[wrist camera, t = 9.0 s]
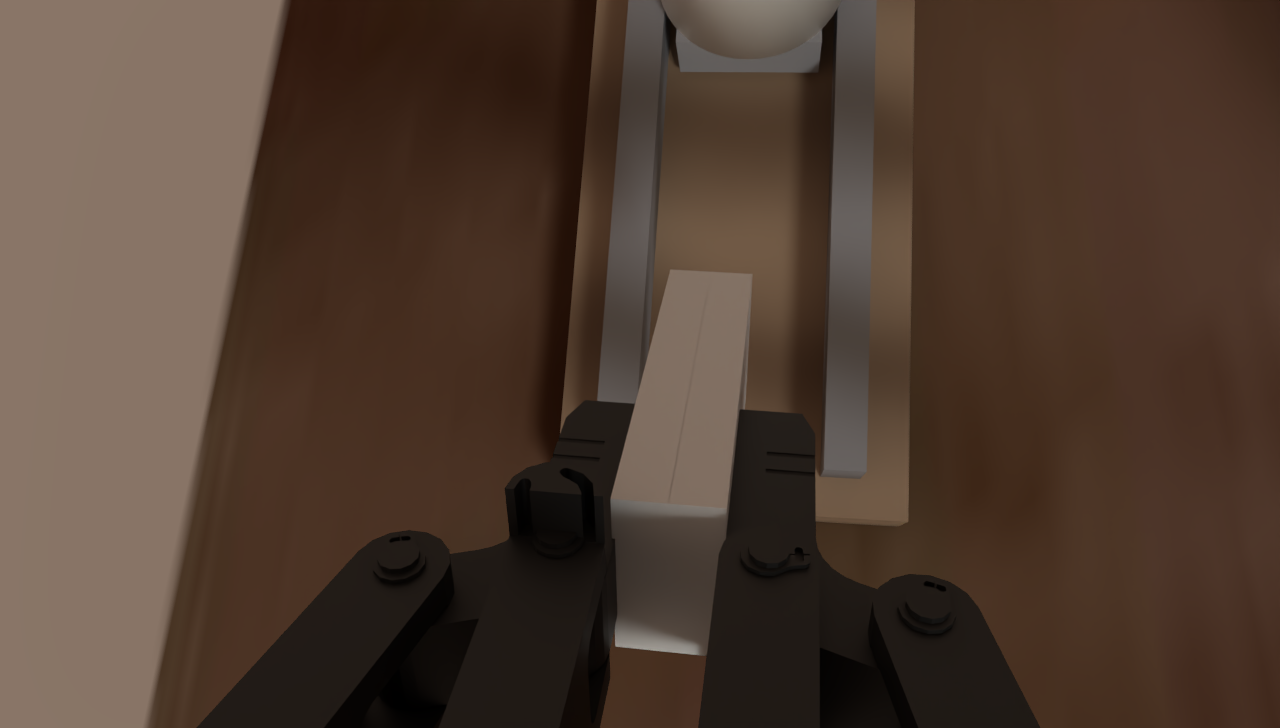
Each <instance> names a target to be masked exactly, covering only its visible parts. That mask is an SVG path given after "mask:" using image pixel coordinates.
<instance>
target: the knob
mask: <svg viewBox="0 0 1280 728" xmlns="http://www.w3.org/2000/svg"><path fill="white" fill-rule="evenodd" d="M661 2H662V5H663V8H664V10H665V12H666V14H667V16H668V18H669V19H670V21H671V22H672V24H673V25H674V26H675V27H676V28H677V32H676V46H677V53H678V59H679V66H680V72H796V73H818V71H819V62H820V53H821V44H822V28H823V27H824V26H825V25H826V24H827V23H828V22H829V20H830V19H831V18H832V16H833V15H834V13H835V12H836V10H837V8H838V6H839V4H840V2H841V0H661Z"/></svg>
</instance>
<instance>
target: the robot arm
mask: <svg viewBox="0 0 1280 728" xmlns="http://www.w3.org/2000/svg"><path fill="white" fill-rule="evenodd" d="M751 292H752V274H744V273H726V272H708V271H690V270H672V269H670V273H669V277H668V281H667V284H666V288H665V292H664V296H663V300H662V304H661V307H660V311H659V315H658V319H657V323H656V327H655V330H654V334H653V338H652V342H651V346H650V349H649V353H648V357H647V361H646V365H645V369H644V372H643V376H642V380H641V384H640V388H639V392H638V395H637V399H636V403H635V404H632V403H619V402H605V401H591V400H585V401H583V402H582V403H581V404H580V405H579V406H578V407H577V408H576V409H575V410H574V411H572V412H571V413H570V414H569V415H568V416H567V417H566V419H565V422H564V425H563V427H562V430H561V433H560V436H559V442H557V444H556V447H555V450H554V453H553V458H551V461H550V462H547V463H542V464H539V465H535V466H532V467H528V468H526V469H525V470H523V471H522V472H520V473H518V474H517V475H515V476H514V477H513V478H512V479H511V481H510V482H509V483H508V485H507V486H506V487H505V495H506V504H507V514H508V523H509V533H510V536H509V539H508V540H507V541H505V542H503V543H500V544H498V545H495V546H493V547H489V548H484V549H480V550H475V551H468V552H461V553H454V554H450V553H449V549H448V548H447V547H446V545H445V544H444V543H443V541H442V540H441V539H439V538H437V537H435V536H433V535H431V534H429V533H427V532H418V531H410V530H408V531H401V532H395V533H389V534H387V535H384V536H382V537H380V538H377V539H375V540H372V541H371V542H370V543H369V544H367V545H366V546H365V547H363V548H362V549H361V550H360V551H358V552H357V553H356V555H355V556H354V557H353V558H352V559H351V560H350V561H349V562H348V563H347V564H346V565H345V567H344V568H343V569H342V570H341V571H340V572H339V573H338V574H337V575H336V576H335V577H334V579H333V580H332V581H331V582H330V583H329V584H328V585H327V586H326V587H325V588H324V589H323V591H322V592H321V593H320V594H319V595H318V596H317V597H316V598H315V599H314V600H313V601H312V603H311V604H310V605H309V606H308V607H307V608H306V609H305V610H304V611H303V612H302V613H301V615H300V616H299V617H298V618H297V619H296V620H295V621H294V622H293V623H292V624H291V625H290V627H289V628H288V629H287V630H286V631H285V632H284V633H283V634H282V635H281V636H280V637H279V639H278V640H277V641H276V642H275V643H274V644H273V645H272V646H271V647H270V648H269V649H268V651H267V652H266V653H265V654H264V655H263V656H262V657H261V658H260V659H259V660H258V661H257V663H256V664H255V665H254V666H253V667H252V668H251V669H250V670H249V671H248V672H247V673H246V675H245V676H244V677H243V678H242V679H241V680H240V681H239V682H238V683H237V684H236V685H235V687H234V688H233V689H232V690H231V691H230V692H229V693H228V694H227V695H226V696H225V697H224V699H223V700H222V701H221V702H220V703H219V704H218V705H217V706H216V707H215V708H214V709H213V710H212V712H211V713H210V714H209V715H208V716H207V717H206V718H205V719H204V720H203V721H202V722H201V724H200V725H199V726H198V727H197V728H600V724H601V719H602V714H603V709H604V705H605V700H606V695H607V690H608V686H609V681H610V658H609V651H610V647H611V642H612V638H613V633H614V628H615V646H616V647H626V648H635V649H645V650H655V651H664V652H674V653H683V654H693V655H703V656H707V658H706V667H705V675H704V684H703V692H702V701H701V709H700V718H699V726H698V728H1040V726H1039V724H1038V722H1037V720H1036V719H1035V717H1034V715H1033V713H1032V711H1031V709H1030V707H1029V705H1028V703H1027V701H1026V699H1025V697H1024V695H1023V693H1022V691H1021V689H1020V687H1019V685H1018V683H1017V682H1016V680H1015V678H1014V676H1013V674H1012V672H1011V670H1010V668H1009V666H1008V664H1007V662H1006V660H1005V658H1004V656H1003V654H1002V652H1001V650H1000V648H999V646H998V645H997V643H996V641H995V639H994V637H993V635H992V633H991V631H990V629H989V627H988V625H987V623H986V621H985V619H984V617H983V615H982V613H981V611H980V609H979V608H978V606H977V605H976V604H975V603H974V601H973V600H972V599H971V598H970V596H969V595H968V594H967V593H966V592H964V591H963V590H961V589H960V588H958V587H957V586H955V585H954V584H952V583H951V582H948V581H945V580H942V579H939V578H936V577H933V576H930V575H914V574H909V575H904V576H900V577H896V578H892V579H890V580H889V581H888V582H886V583H885V584H883V585H882V586H880V587H879V588H878V589H875V588H872V587H869V586H866V585H863V584H860V583H858V582H855V581H853V580H851V579H848V578H846V577H844V576H843V575H841V574H840V573H838V572H837V571H835V570H834V569H832V568H831V567H830V565H829V564H828V563H827V562H826V561H825V560H824V559H823V558H822V556H821V554H820V552H819V550H818V548H817V543H816V489H815V433H814V431H813V430H812V428H811V427H810V425H809V423H808V422H807V420H806V419H805V417H804V416H803V414H799V413H785V412H772V411H758V410H745V401H746V384H747V366H748V347H749V329H750V310H751Z"/></svg>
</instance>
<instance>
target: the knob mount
mask: <svg viewBox="0 0 1280 728" xmlns="http://www.w3.org/2000/svg"><path fill="white" fill-rule="evenodd" d="M914 21H915V0H841V2H840V4H839V6H838V8H837V10H836V12H835V13H834V15H833V16H832V18H831V19H830V20H829V22H828V23H827V24H826V25H825V26H824V27H823V28H822V44H821V53H820V62H819V71H818V73H796V72H680V66H679V59H678V53H677V46H676V32H677V28H676V27H675V26H674V25H673V24H672V22H671V21H670V19H669V18H668V16H667V14H666V12H665V10H664V8H663V5H662V2H661V0H597V7H596V18H595V30H594V42H593V53H592V65H591V77H590V89H589V100H588V112H587V124H586V135H585V147H584V159H583V171H582V182H581V194H580V206H579V217H578V229H577V241H576V252H575V264H574V276H573V288H572V299H571V311H570V323H569V334H568V346H567V358H566V370H565V381H564V393H563V405H562V416H561V428H560V433H561V430H562V427H563V425H564V422H565V419H566V417H567V416H568V415H569V414H570V413H571V412H572V411H574V410H575V409H576V408H577V407H578V406H579V405H580V404H581V403H582V402H583V401H585V400H591V401H605V402H619V403H632V404H635V403H636V399H637V395H638V392H639V388H640V384H641V380H642V376H643V372H644V369H645V365H646V361H647V357H648V353H649V349H650V346H651V342H652V338H653V334H654V330H655V327H656V323H657V319H658V315H659V311H660V307H661V304H662V300H663V296H664V292H665V288H666V284H667V281H668V277H669V273H670V269H672V270H690V271H708V272H726V273H744V274H752V292H751V310H750V329H749V347H748V366H747V384H746V401H745V410H758V411H772V412H785V413H799V414H803V416H804V417H805V419H806V420H807V422H808V423H809V425H810V427H811V428H812V430H813V431H814V433H815V489H816V522H831V523H848V524H864V525H881V526H897V527H898V526H900V525H902V524H904V523H907V522H908V503H909V423H910V343H911V262H912V182H913V101H914Z"/></svg>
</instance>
